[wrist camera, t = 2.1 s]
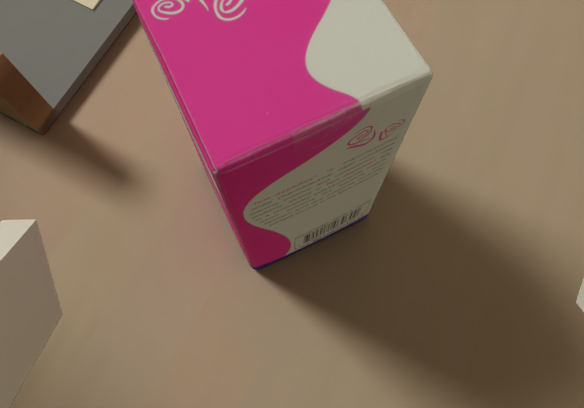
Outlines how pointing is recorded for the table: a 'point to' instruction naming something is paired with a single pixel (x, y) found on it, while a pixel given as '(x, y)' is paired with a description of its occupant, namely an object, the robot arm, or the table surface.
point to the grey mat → (59, 42)
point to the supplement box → (289, 108)
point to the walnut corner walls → (22, 98)
